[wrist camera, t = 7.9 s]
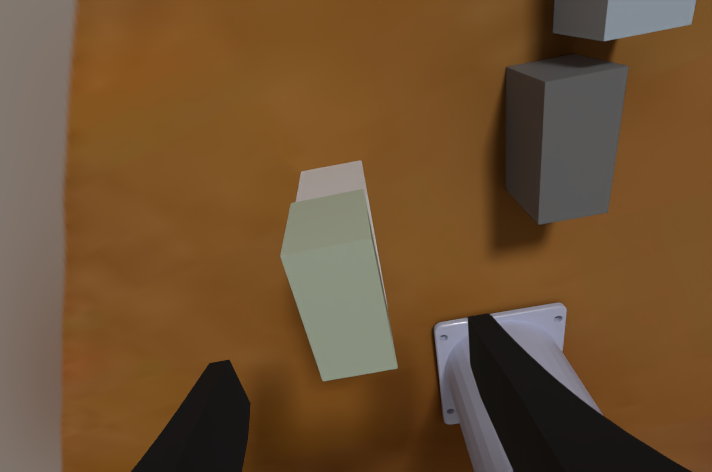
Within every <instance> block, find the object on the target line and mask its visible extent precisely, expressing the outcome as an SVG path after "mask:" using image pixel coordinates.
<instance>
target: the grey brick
mask: <svg viewBox="0 0 712 472" xmlns="http://www.w3.org/2000/svg"><path fill="white" fill-rule="evenodd" d="M360 189H364V194H365V199H366V204H367V209H368V214H369V219H370V224H371V229H372V234H373V239H374V244H375V249H376V254H377V259H378V264H379V269H380V274H381V279H382V273H381V268H380V262H379V257H378V251H377V245H376V240H375V234H374V228H373V223H372V217H371V212H370V206H369V200H368V195H367V189H366V184H365V178H364V172H363V167H362V161H361V160H360V161H355V162H350V163H344V164H339V165H334V166H328V167H323V168H317V169H312V170H307V171H301V176H300V181H299V187H298V192H297V198H296V202H299V201H304V200H309V199H314V198H319V197H324V196H329V195H334V194H339V193H344V192H350V191H355V190H360ZM382 284H383V279H382ZM383 289H384V285H383ZM384 294H385V290H384ZM385 299H386V296H385ZM386 304H387V301H386Z"/></svg>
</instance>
